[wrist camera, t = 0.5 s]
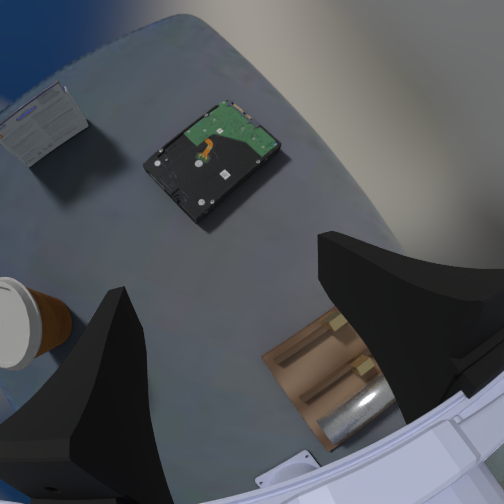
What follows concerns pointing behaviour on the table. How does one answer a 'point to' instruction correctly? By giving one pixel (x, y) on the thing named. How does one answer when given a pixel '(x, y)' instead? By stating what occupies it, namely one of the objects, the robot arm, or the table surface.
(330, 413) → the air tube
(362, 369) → the tan blocks
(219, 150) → the disk drive
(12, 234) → the table surface
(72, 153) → the table surface
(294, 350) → the stand board
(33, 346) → the disposable coffee cup
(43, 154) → the ink box
